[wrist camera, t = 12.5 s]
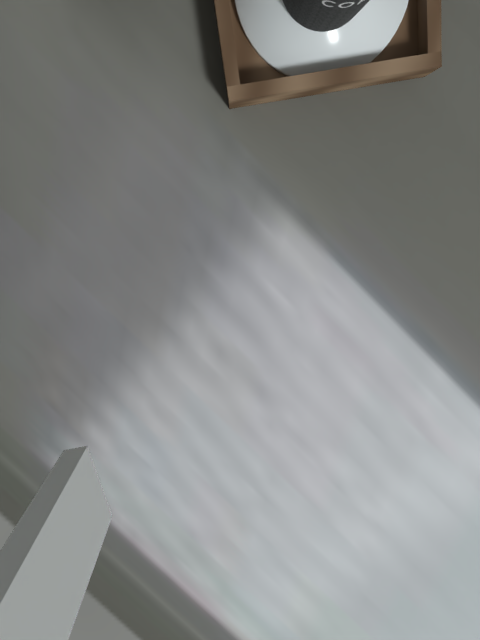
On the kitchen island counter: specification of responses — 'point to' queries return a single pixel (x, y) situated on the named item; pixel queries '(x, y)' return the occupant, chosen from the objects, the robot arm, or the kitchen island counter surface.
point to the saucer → (317, 36)
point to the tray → (389, 66)
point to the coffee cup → (323, 12)
